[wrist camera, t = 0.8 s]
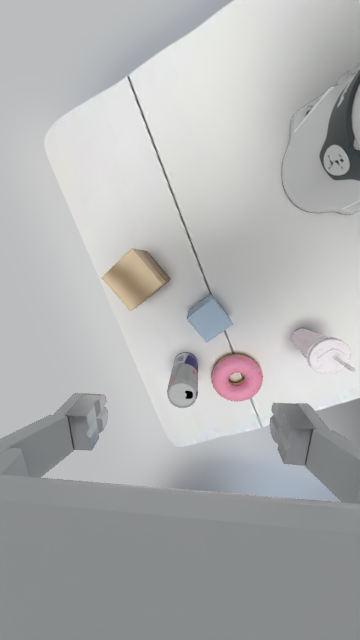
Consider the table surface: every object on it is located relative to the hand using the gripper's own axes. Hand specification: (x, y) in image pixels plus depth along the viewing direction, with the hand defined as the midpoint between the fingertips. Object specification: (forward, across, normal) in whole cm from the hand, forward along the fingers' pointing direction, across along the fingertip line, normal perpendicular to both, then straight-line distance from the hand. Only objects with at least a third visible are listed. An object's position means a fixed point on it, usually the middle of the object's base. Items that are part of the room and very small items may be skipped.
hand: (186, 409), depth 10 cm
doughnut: (+34, -10, +17) cm, 39 cm away
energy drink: (+34, +2, +15) cm, 37 cm away
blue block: (+34, -3, +3) cm, 34 cm away
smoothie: (+34, -22, +8) cm, 41 cm away
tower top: (+29, +10, -4) cm, 31 cm away
